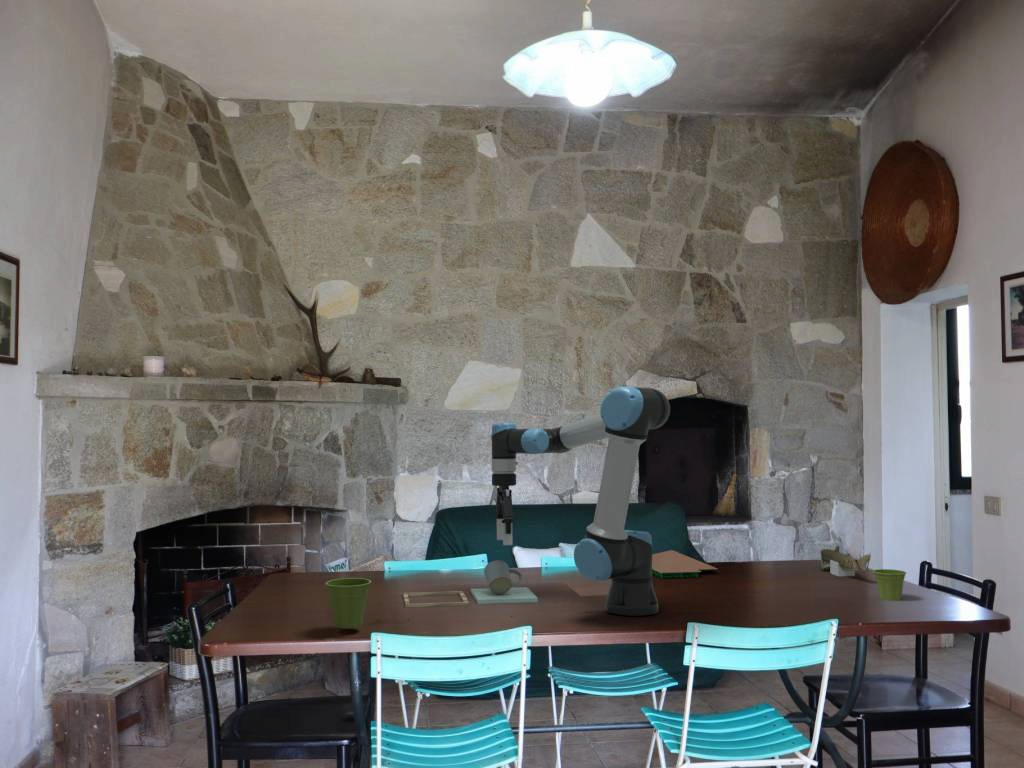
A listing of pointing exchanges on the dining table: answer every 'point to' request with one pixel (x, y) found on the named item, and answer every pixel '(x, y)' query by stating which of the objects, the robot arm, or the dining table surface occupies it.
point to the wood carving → (843, 562)
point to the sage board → (504, 596)
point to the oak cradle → (407, 604)
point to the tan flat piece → (676, 564)
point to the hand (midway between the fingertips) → (504, 542)
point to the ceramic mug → (500, 577)
